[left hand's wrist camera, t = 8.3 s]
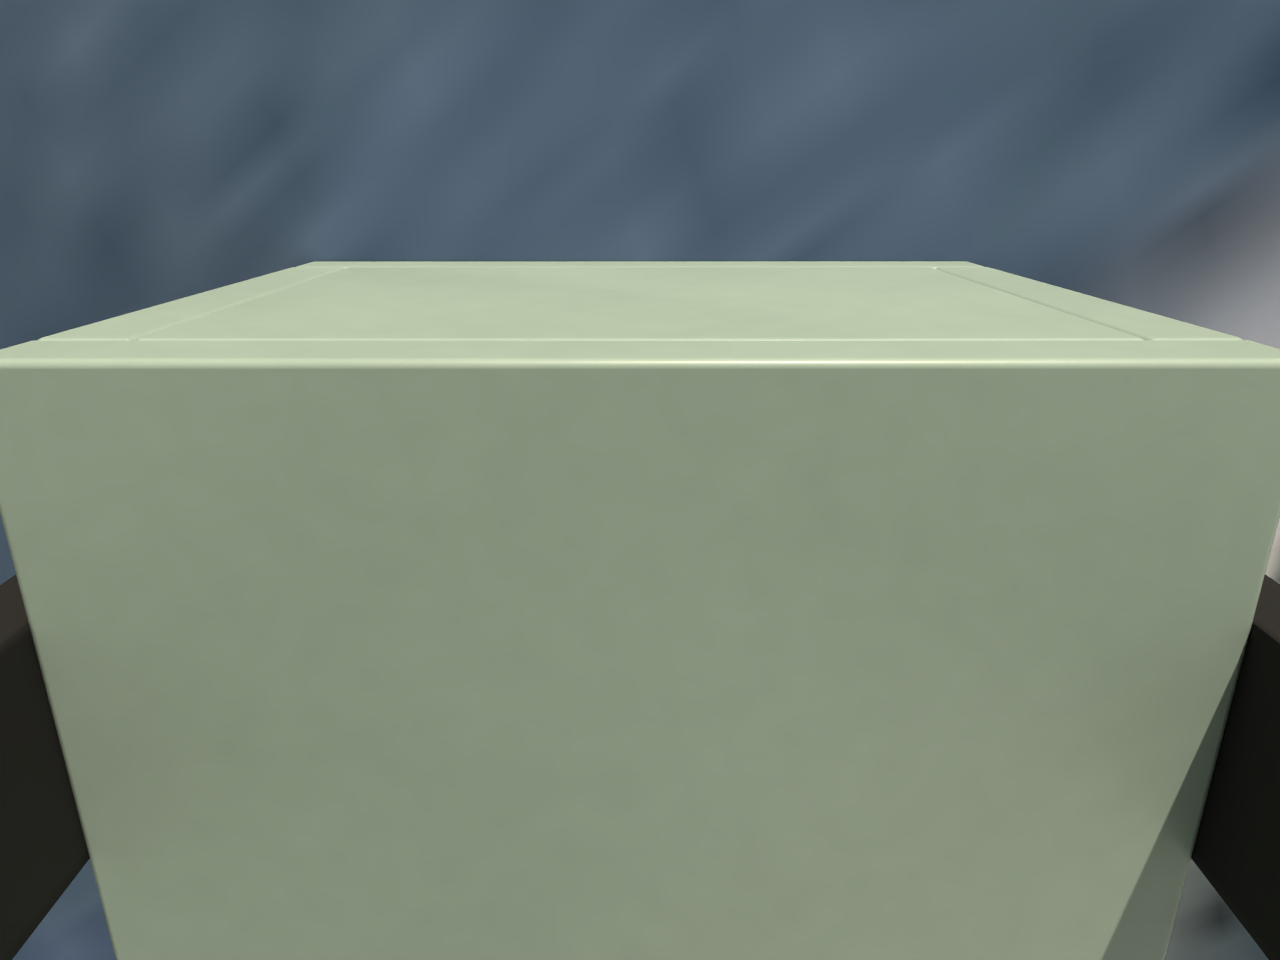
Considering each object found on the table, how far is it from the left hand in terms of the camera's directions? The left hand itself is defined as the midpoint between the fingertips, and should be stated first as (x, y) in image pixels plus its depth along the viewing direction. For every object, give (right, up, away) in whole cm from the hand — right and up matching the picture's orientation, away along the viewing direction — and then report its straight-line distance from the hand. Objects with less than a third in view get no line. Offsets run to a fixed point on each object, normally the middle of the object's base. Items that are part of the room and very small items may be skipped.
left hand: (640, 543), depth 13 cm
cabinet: (0, -5, +5) cm, 7 cm away
